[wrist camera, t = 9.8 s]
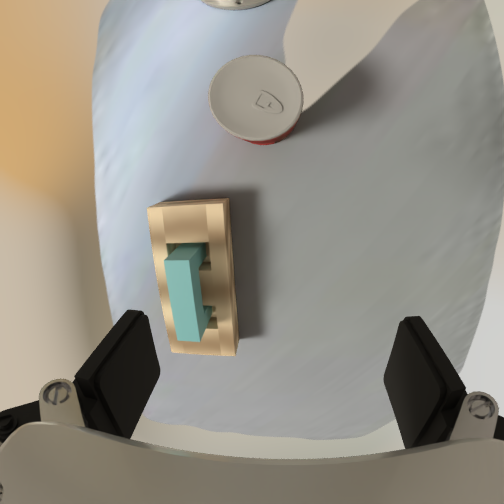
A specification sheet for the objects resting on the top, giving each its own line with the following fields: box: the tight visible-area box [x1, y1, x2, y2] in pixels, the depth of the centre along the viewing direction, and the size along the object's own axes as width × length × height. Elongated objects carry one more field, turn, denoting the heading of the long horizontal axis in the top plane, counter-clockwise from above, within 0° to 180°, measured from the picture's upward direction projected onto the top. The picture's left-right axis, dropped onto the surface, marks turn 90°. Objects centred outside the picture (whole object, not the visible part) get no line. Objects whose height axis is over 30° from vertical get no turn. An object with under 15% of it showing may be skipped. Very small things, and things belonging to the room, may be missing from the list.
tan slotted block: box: [147, 198, 239, 356], centre depth 37 cm, size 20×9×4 cm, turn 2°
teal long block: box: [164, 242, 213, 342], centre depth 35 cm, size 10×3×7 cm, turn 2°
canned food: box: [208, 55, 303, 145], centre depth 27 cm, size 8×8×11 cm
